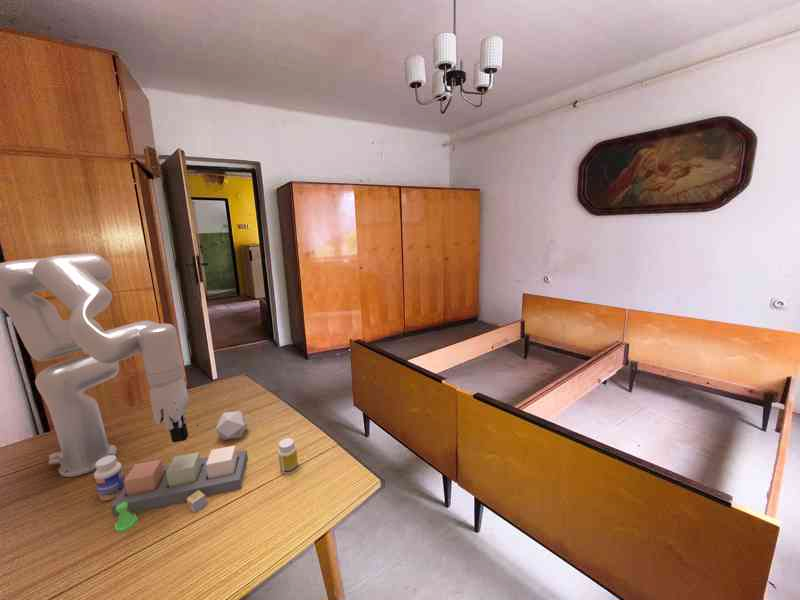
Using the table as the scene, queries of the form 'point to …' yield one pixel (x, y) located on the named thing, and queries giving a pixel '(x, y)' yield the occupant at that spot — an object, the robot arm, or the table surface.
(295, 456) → the supplement bottle
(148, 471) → the terracotta block
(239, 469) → the board
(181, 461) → the green block
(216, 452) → the cream block
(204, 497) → the alphabet block
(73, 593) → the table surface
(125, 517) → the game piece
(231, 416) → the die
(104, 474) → the pill bottle
